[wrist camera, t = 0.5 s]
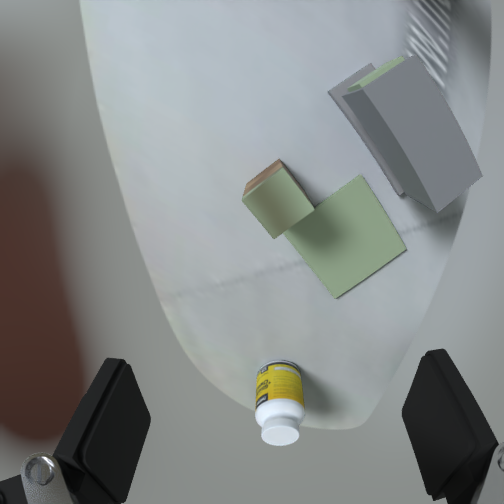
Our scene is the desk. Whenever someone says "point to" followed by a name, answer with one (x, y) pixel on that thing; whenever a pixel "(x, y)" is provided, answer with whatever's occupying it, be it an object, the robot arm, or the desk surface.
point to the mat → (346, 237)
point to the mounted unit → (409, 130)
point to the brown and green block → (276, 199)
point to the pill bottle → (279, 402)
